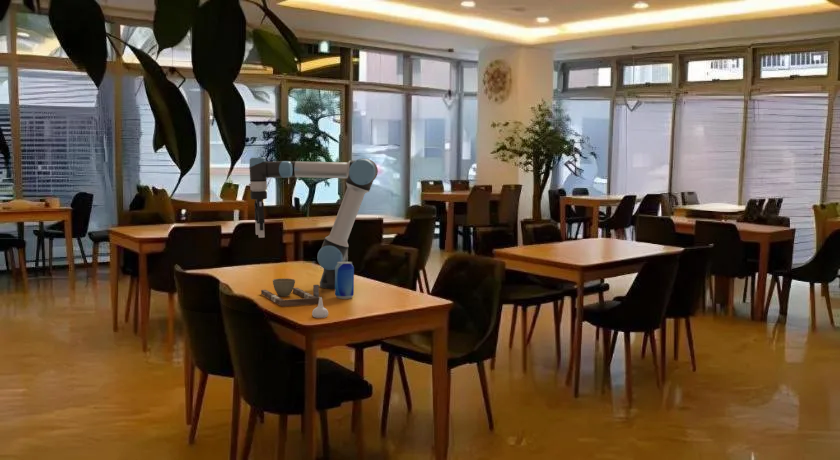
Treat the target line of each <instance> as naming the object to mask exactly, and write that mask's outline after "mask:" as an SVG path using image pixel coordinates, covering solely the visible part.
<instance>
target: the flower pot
mask: <svg viewBox="0 0 840 460" xmlns="http://www.w3.org/2000/svg"><path fill="white" fill-rule="evenodd" d="M295 284H296V279H294V278H275V279H272V285H273V288H274V291H275V293H276V296H278V297H289V296H290V295H291V294H292V293H293V288H295Z"/></svg>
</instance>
